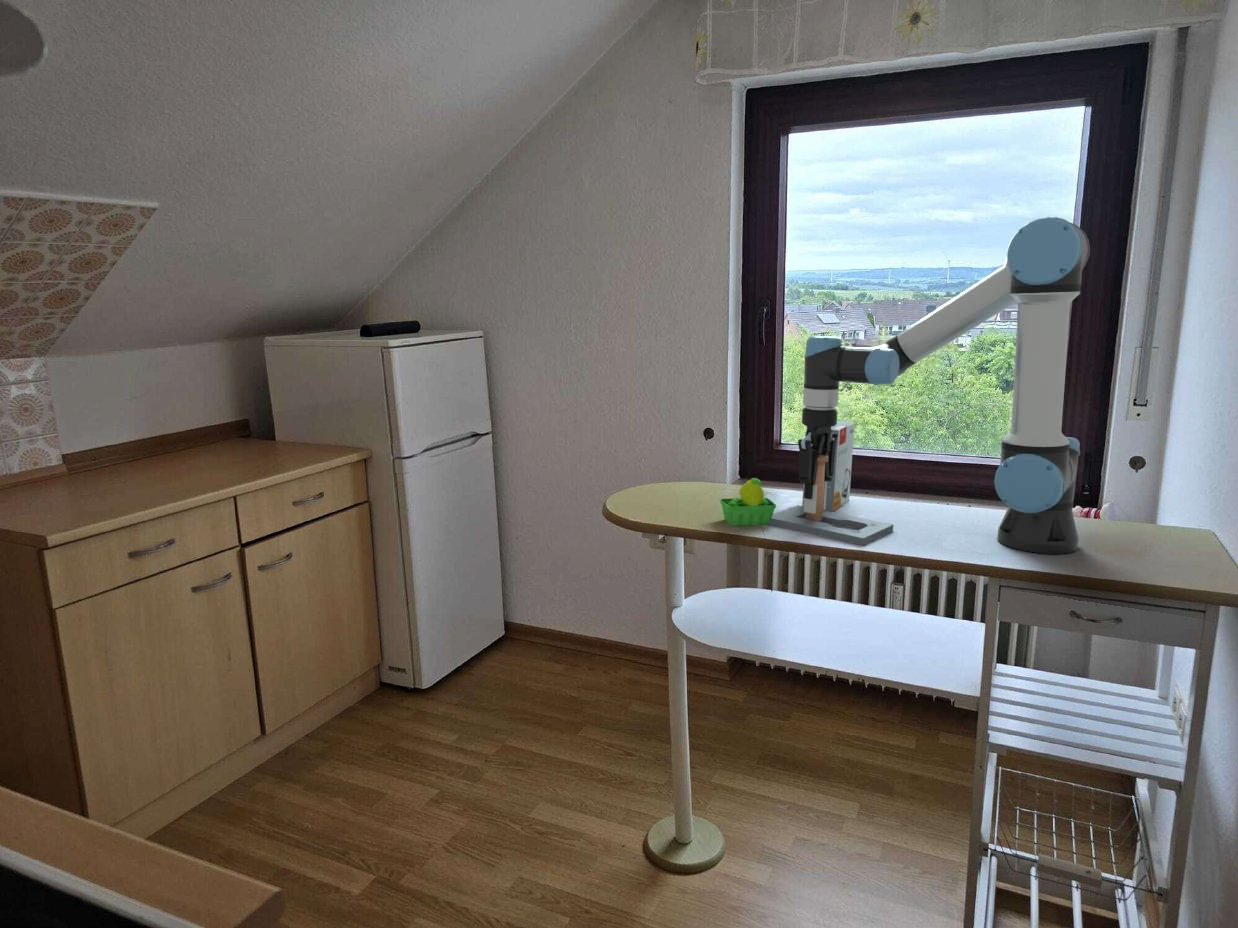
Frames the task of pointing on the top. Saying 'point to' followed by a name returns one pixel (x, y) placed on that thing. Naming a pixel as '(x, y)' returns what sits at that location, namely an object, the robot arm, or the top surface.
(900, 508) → the top surface
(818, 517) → the peg
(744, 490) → the fruit basket
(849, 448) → the hard drive box
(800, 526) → the keyhole board
